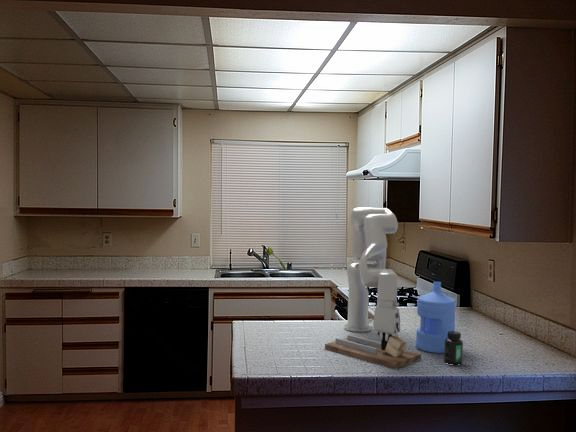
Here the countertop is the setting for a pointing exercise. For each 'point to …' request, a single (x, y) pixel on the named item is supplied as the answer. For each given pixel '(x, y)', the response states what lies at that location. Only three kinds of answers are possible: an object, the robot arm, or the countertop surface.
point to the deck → (375, 355)
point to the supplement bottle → (453, 348)
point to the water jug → (435, 320)
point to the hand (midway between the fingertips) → (385, 349)
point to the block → (395, 346)
